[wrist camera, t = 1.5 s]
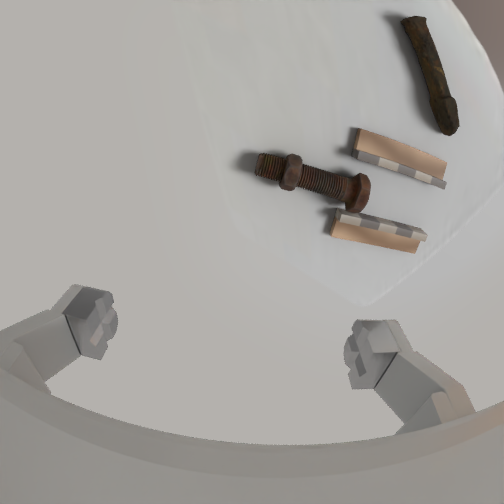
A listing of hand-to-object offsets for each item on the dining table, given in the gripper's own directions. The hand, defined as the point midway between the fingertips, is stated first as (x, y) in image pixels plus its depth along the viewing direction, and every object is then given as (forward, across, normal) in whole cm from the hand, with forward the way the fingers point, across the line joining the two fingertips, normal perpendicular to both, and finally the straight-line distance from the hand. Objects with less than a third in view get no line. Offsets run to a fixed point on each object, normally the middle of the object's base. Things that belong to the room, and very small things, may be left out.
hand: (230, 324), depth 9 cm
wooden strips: (+32, -21, +1) cm, 38 cm away
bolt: (+32, -8, 0) cm, 33 cm away
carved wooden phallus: (+31, -24, -19) cm, 44 cm away
